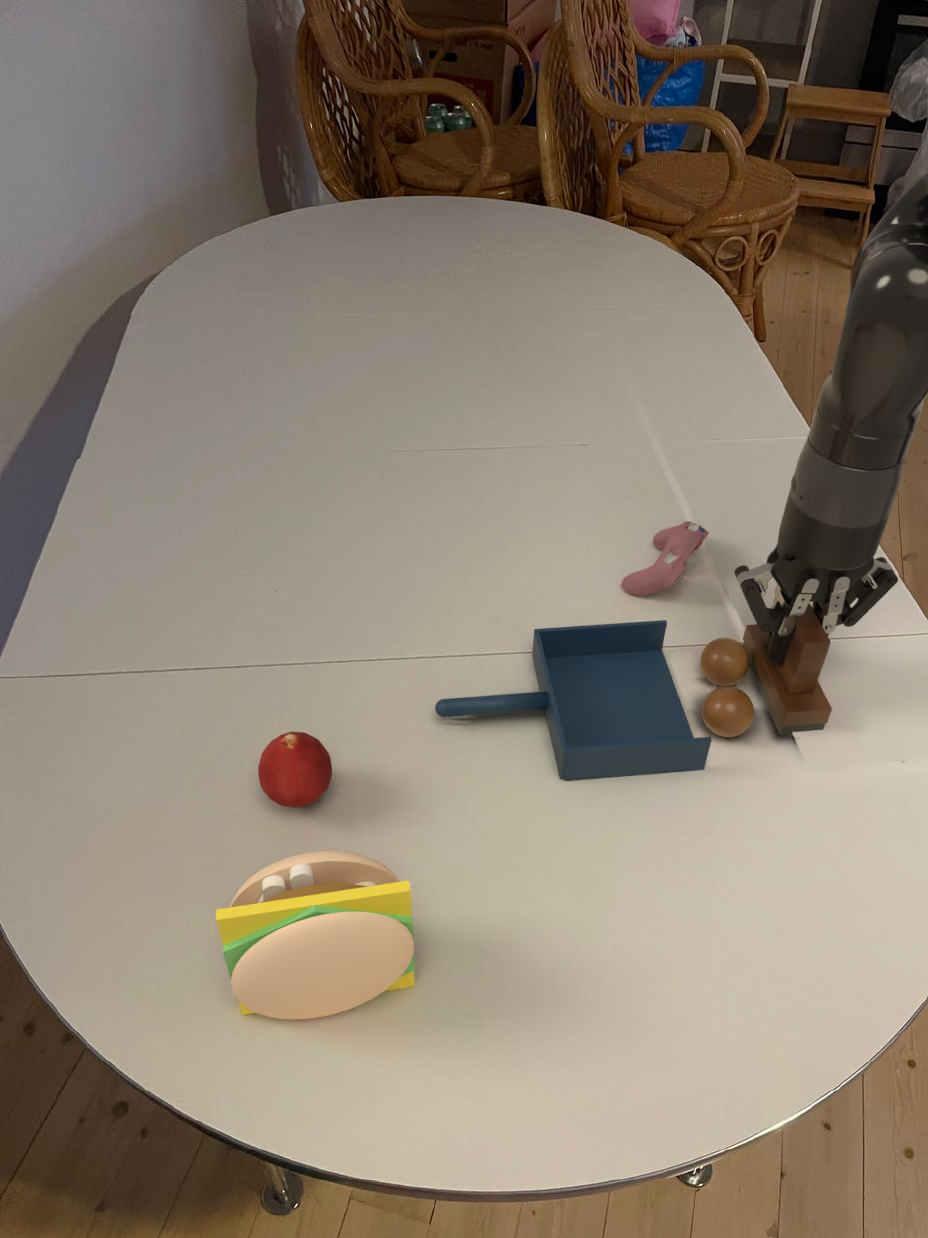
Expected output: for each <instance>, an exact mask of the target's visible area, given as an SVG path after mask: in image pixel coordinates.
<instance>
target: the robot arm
mask: <svg viewBox="0 0 928 1238" xmlns="http://www.w3.org/2000/svg"><path fill="white" fill-rule="evenodd" d="M853 260H854V261H853V263H852V266H851V271H850V278H849V286H848V295H847V302H846V308H845V311H844V312H845V313H844V316H843V322H842V326H841V330H840V336H839V340H838V343H837V348H836V352H835V356H834V360H833V365H832V369H831V370H830V372H829V373H828V374H827V376H826V378H825V380H824V383H823V384H822V387H821V390H820V393H819V396H818V398H817V402H816V405H815V409H814V413H813V417H812V421H811V423H810V424H811V425H810V428H809V431H808V435H807V438H806V440H805V443H804V445H803V447H802V449H801V452H800V453H799V456H798V459H797V461H796V465H795V469H794V474H793V476H792V478H791V480H790V489H789V492H788V495H787V500H786V503H785V506H784V511H783V514H782V517H781V521H780V526H779V529H778V536H777V543H776V546H775V547H774V549H773V550H771V552H770V553H769V554H768V556H767V558H766V562H765V563H762V564H760V565H758V566H756V567H754V568H752V569H750V568H749V567H748V566H747V565H744V564H743V565H739V566H738V567H736V568H735V569H734V571H733V573H734V576H735V579H736V580H737V583H738V586H739V587H740V590H741V592H742V593H743V596H744V598H745V601H746V603H747V605H748V608H749V610H750V613H751V614H752V616H753V619H754V621H755V624H757V625H758V627H759V629H760V631H761V632H767V633H766V637H765V640H764V644H763V645H764V649H765V651H766V653H767V655H768V658H769V660H772V662H773V664H774V665H783V663H784V660H785V657H786V654H787V650H788V647H789V644H790V641H791V637H792V635H791V633H792V631H793V629H794V627H795V624H796V622H797V620H798V618H799V617H803V615H804V613H805V611H806V608H807V606H808V604H809V603H812V604H811V606H812V608H813V610H814V612H815V614H816V616H817V617H818V619H819V621H820V623H821V625H822V627H823V629H824V630H825V632H826V634H827V636H828V637H829V635H830V633H833V632H834V631H835V630H836V627H838V626H841V625H844V626H845V627H846V628H848V627H850V628H851V627H853V626H855V625H856V624H857V623H858V622H859V621H860V620H861V619H862V618H863V617H864V616H865V615H866V614H867V613H868V612H869V611H870V610H872V609H873V608H874V606H876V605H877V603H879V601H881V600H882V598H883V597H884V596H885V595H887V594H888V592H889V591H890V590H891V589H892V588H894V586H895V585H896V584H897V583H898V581H899V577H898V575H897V574H896V573H895V570H894V569H893V568H892V566H891V564H890V563H889V562H888V561H887V559H886V557H883V556H879V557H877V558H875V556H876V553H877V552H878V549H879V546H880V543H881V540H882V537H883V535H884V532H885V529H886V526H887V523H888V521H889V517H890V514H891V512H892V509H893V506H894V503H895V500H896V498H897V495H898V493H899V489H900V486H901V483H902V479H903V474H904V469H905V468H904V467H905V462H906V459H907V456H908V453H909V450H910V447H911V444H912V441H913V438H914V436H915V433H916V430H917V427H918V424H919V421H920V418H921V415H922V411H923V408H924V403H925V400H926V398H927V397H928V169H927V170H926V171H924V172H923V173H922V174H921V175H920V176H919V177H918V178H917V179H916V180H915V182H913V183H912V185H911V186H910V187H909V188H908V189H907V190H906V191H905V192H904V193H903V194H902V195H901V196H899V198H898V199H897V200H896V201H895V203H893V205H891V206H890V208H889V209H888V210H887V211H886V213H885V214H884V215H883V216H882V217H881V218H880V219H879V221H878V222H877V223H876V225H875V226H874V228H872V230H871V231H870V233H869V234H868V236H867V237H866V238H865V240H864V241H863V243H862V245H861V246H860V248H859V250H858V252H857V253H856V255H855V257H854V259H853ZM771 579H774V581H775V582H776V584H777V585H776V587H775V590H774V594H775V596H776V597H775V596H774V599H775V600H774V599H773V602H774V603H772V605H771V607H767V605H766V603H765V600H764V597H765V596H766V595H767V591H768V588H769V581H770V580H771ZM856 600H857V601H856ZM855 601H856V602H855ZM854 602H855V604H853V603H854ZM852 604H853V606H851V605H852Z"/></svg>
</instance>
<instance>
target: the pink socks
mask: <svg viewBox="0 0 928 1238" xmlns="http://www.w3.org/2000/svg"><path fill="white" fill-rule="evenodd" d="M708 536H709V531H708V530H706V528H704V527H703V526H702V525H700V524H698V523H695V522H694V521H693V520H690V521H689V520H688V521H684V522H682V523H680V524H678V525H675V526H671V527H666V528H664V529H661V530H659V531H658V532H657V533H655V534H654V536H653V538H652V543H653V545H654V547H655V548H657V549H658V550H660V551H661V552H660V554H659V556H658V557H657V559H656V560H655V562H654V563H653V564H652V565H650V566H649V567H646V568H644V569H641V570H638V571H634V572H631V573H628V574H627V575H626V576H624V577H623V579H622V581H621V587H622V589H623V591H624V592H626V593H627V594H629V595H633V596H649V595H654V594H656V593H659V592H662V591H666V590H668V589H670V587H671V586H673V585H674V584H676V585H675V586H677V587H678V586H681V585H682V584H683V583H684V582H685V579H686V575H684V576H683V573H684V571H685V569H686V568H687V566H688V563H687V561H688V559H689V558H690V557H691V556H692V554H694V553H695V552H696V551H698V549H699V548H700V547H701V546H702V545H703V543H704V541H705V540H706V539H707V537H708Z"/></svg>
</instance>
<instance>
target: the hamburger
mask: <svg viewBox="0 0 928 1238" xmlns="http://www.w3.org/2000/svg"><path fill="white" fill-rule="evenodd" d="M412 914H413V913H412V889H411V884H410V880H409V879H408V880H402V881H400V879H399V877H398V876H397V875H396V874H395V873H394V872H393V871H392V870H391V868H389V867H388V866H386V865H385V864H383V863H381V862H379V861H378V860H376V859H374V858H372V857H368V856H366V855H363V854H359V853H355V852H350V851H343V850H317V851H316V850H315V851H308V852H303V853H298V854H295V855H291V856H288V857H285V858H281V859H279V860H277V861H274V862H272V863H270V864H269V865H267V866H265V867H264V868H262V869H260V870H258V871H257V872H255V873H254V874H253V875H251V876H250V877H249V878H248V879H247V880H246V881H245V882H244V883H243V884H242V885H241V887H240V888H239V889H237V891H236V893H235V894H234V897H233V898H232V900H231V902H230V904H229V907H225V908H217V909H215V922H216V925H217V928H218V929H217V930H218V932H219V936H220V940H221V943H222V953H223V957H224V960H225V964H226V967H227V971H228V975H229V978H230V984H231V989H232V993H233V995H234V997H235V1000H236V1001H237V1003H238V1005H239V1009H240V1013H241V1016H247V1015H253V1014H258V1015H261V1016H265V1017H267V1018H273V1019H277V1020H278V1019H279V1020H296V1021H297V1020H310V1019H316V1018H323V1017H327V1016H333V1015H336V1014H339V1013H342V1012H345V1011H348V1010H351V1009H354V1008H357V1007H359V1006H361V1005H363V1004H365V1003H367V1002H369V1001H371V1000H372V999H375V998H376V997H377V996H379V995H381V994H382V993H385V992H390V991H395V990H397V991H398V990H402V989H407V988H415V985H416V984H415V969H416V967H415V940H414V922H413V915H412Z"/></svg>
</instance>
